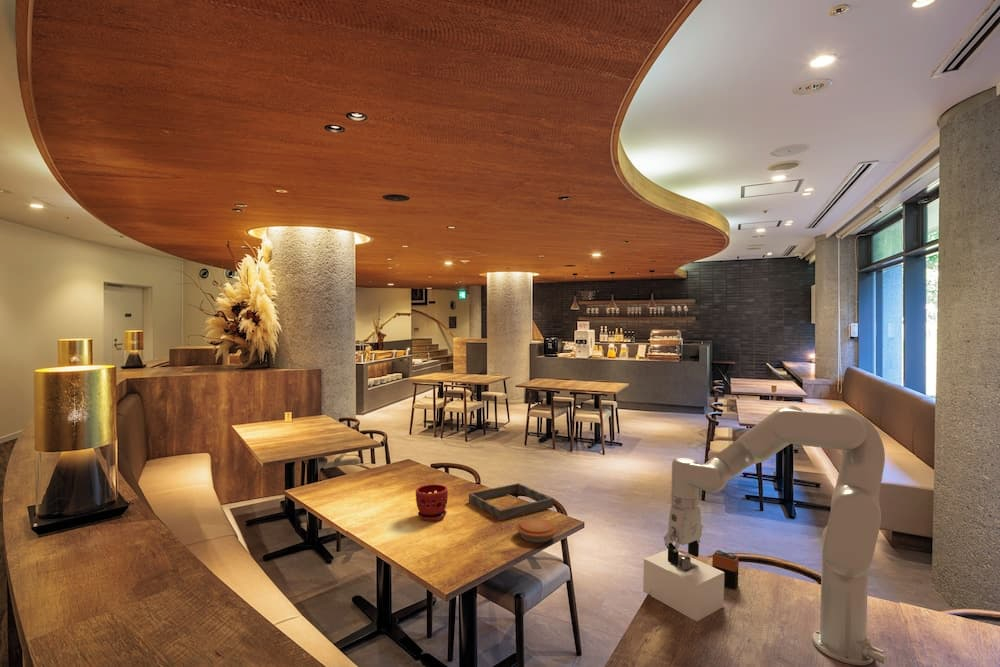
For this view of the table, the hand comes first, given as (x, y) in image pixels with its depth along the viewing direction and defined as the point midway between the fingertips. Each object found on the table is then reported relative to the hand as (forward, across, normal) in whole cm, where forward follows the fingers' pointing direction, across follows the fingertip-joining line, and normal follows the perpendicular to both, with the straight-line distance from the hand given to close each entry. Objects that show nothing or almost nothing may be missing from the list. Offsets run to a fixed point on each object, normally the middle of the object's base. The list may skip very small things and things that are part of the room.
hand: (683, 559), depth 145 cm
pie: (+12, -9, +57) cm, 59 cm away
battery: (+12, +19, -2) cm, 23 cm away
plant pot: (+12, -34, +95) cm, 102 cm away
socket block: (+12, 0, 0) cm, 12 cm away
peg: (+7, 0, 0) cm, 8 cm away
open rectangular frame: (+12, +2, +89) cm, 90 cm away
